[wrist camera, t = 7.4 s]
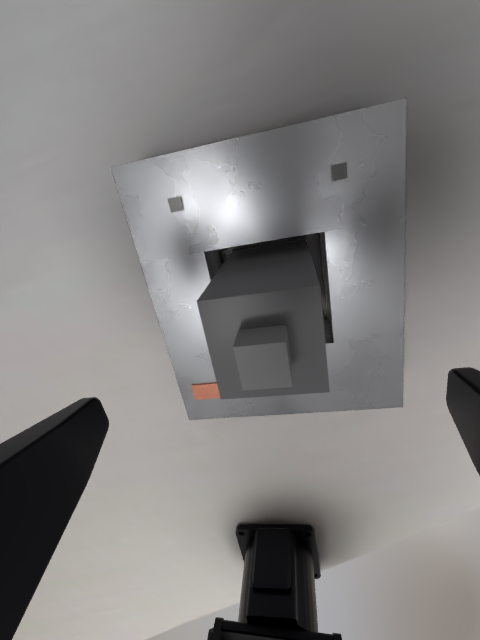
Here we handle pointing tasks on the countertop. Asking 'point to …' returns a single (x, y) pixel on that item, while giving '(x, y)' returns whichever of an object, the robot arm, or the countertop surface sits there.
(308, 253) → the plug
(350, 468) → the countertop surface
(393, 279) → the socket plate
